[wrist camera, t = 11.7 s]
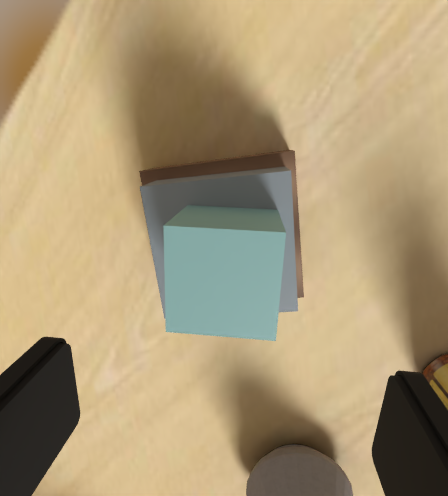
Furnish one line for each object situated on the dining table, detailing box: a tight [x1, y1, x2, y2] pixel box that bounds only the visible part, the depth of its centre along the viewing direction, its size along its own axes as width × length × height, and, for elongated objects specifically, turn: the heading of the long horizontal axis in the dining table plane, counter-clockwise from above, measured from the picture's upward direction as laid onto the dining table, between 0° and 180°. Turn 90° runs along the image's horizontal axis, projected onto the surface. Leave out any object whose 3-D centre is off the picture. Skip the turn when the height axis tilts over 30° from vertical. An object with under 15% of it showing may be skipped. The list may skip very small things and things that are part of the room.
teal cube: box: [163, 205, 286, 341], centre depth 19 cm, size 6×6×6 cm
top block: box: [140, 167, 298, 319], centre depth 24 cm, size 10×10×4 cm
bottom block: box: [139, 150, 304, 298], centre depth 28 cm, size 12×12×4 cm
